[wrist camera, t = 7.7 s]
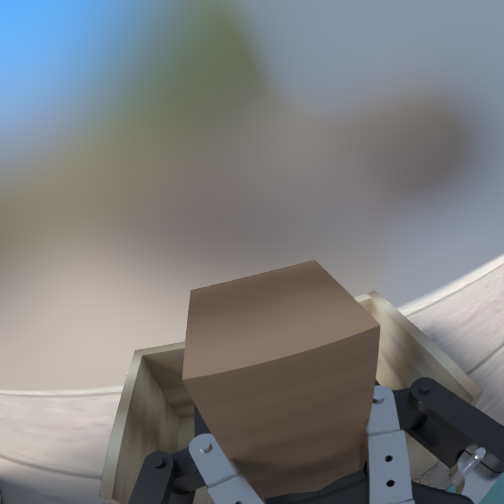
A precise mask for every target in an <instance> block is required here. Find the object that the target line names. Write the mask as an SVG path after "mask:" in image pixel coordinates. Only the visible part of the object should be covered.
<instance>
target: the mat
mask: <svg viewBox="0 0 504 504" xmlns="http://www.w3.org/2000/svg"><path fill="white" fill-rule="evenodd" d="M446 491H449V492H453V493H455V492H456V489H455V486H454V485H453V486H452V487H450V488H449V489H447V490H446ZM478 504H504V473H503V474H502V475H501V476H500V477H499V478H498V479H497V481H496V482H495V483H494V485H493V486H492V487H491V489H490V490H489V491H488V492H487V494H486V495H485V496H484V497H483V499H482V500H481V501H480V502H479V503H478Z"/></svg>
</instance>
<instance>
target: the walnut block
mask: <svg viewBox="0 0 504 504" xmlns="http://www.w3.org/2000/svg"><path fill="white" fill-rule="evenodd" d="M380 327H381V325H380V324H379V323H378V322H377V321H376V320H375V319H374V318H373V317H372V316H371V315H370V314H369V313H368V312H367V311H366V310H365V309H364V308H363V307H362V306H361V305H360V304H359V303H358V302H357V301H356V300H355V299H354V298H353V297H352V296H351V295H350V294H349V293H348V292H347V291H346V290H345V289H344V288H343V287H342V286H341V285H340V284H339V283H338V282H337V281H336V280H335V279H334V278H333V277H332V276H331V275H329V273H328V272H327V271H325V270H324V269H323V268H322V267H321V266H320V265H319V264H318V263H317V262H316V261H315V260H312V261H308V262H304V263H301V264H297V265H293V266H289V267H285V268H281V269H277V270H273V271H269V272H265V273H261V274H257V275H253V276H249V277H245V278H241V279H236V280H232V281H228V282H224V283H220V284H216V285H211V286H207V287H203V288H198V289H194V290H191V293H190V303H189V311H188V321H187V330H186V340H185V351H184V363H183V376H182V380H183V382H184V384H185V386H186V388H187V390H188V392H189V394H190V396H191V398H192V400H193V401H194V403H195V405H196V407H197V409H198V411H199V412H200V414H201V416H202V418H203V420H204V421H205V423H206V425H207V427H208V428H209V430H210V432H211V433H212V435H213V437H214V438H215V440H216V442H217V443H218V445H219V447H220V448H221V450H222V451H223V453H224V455H225V456H226V458H227V459H232V460H233V462H234V463H235V465H236V466H237V467H238V469H239V470H240V472H241V473H242V474H243V476H244V477H245V479H246V480H247V481H248V483H249V484H250V486H251V487H252V488H253V490H254V491H255V492H256V494H257V495H258V496H259V498H260V499H261V500H262V502H263V503H264V504H266V502H265V499H266V498H271V497H275V496H280V495H284V494H288V493H302V492H314V491H318V490H320V489H322V488H324V487H325V486H327V485H329V484H330V483H332V482H334V481H335V480H337V479H339V478H341V477H343V476H346V475H349V474H351V473H354V472H356V471H358V469H359V461H360V458H359V449H360V445H362V444H364V422H365V420H367V419H369V418H370V414H371V408H372V402H373V395H374V388H375V381H376V372H377V363H378V353H379V341H380Z"/></svg>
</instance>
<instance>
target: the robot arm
mask: <svg viewBox="0 0 504 504" xmlns="http://www.w3.org/2000/svg"><path fill="white" fill-rule="evenodd" d="M194 410H195V411H194V433H195V435H194V438H193V439H192V441H191V442H190V444H189V446H188V447H187V448H185V449H183V450H181V451H179V452H176V453H173V454H169V453H168V452H165V451H154V452H152V453H150V454H149V455H148V456H147V457H146V458H145V460H144V462H143V465H142V468H141V470H140V473H139V475H138V478H137V481H136V483H135V486H134V489H133V491H132V494H131V497H130V499H129V502H128V504H193V501H194V497H195V492H196V489H199V488H201V487H204V486H206V485H207V490H208V492H209V494H210V496H211V497H212V499H213V501H214V502H215V504H264V503H263V502H262V500H261V499H260V498H259V496H258V495H257V494H256V492H255V491H254V490H253V488H252V487H251V486H250V484H249V483H248V481H247V480H246V479H245V477H244V476H243V474H242V473H241V472H240V470H239V469H238V467H237V466H236V465H235V463H234V462H233V460H232V459H227V458H226V456H225V455H224V453H223V451H222V450H221V448H220V447H219V445H218V443H217V442H216V440H215V438H214V437H213V435H212V433H211V432H210V430H209V428H208V427H207V425H206V423H205V421H204V420H203V418H202V416H201V414H200V412H199V411H198V409H197V407H196V405H194ZM404 431H406V432H407V433H408V434H409V435H410V436H411V437H413V438H414V439H415V440H416V441H417V442H418V443H420V444H421V445H422V446H423V447H424V448H426V449H427V450H428V451H429V452H430V453H432V454H433V455H434V456H435V457H437V458H438V459H439V460H440V461H441V462H443V463H444V464H445V465H446V466H448V467H449V468H450V469H451V470H450V473H449V477H450V480H451V482H452V483H453V484H454V486H455V489H456V492H455V493H453V492H449V491H444V490H440V489H436V488H433V487H429V486H426V485H422V484H419V483H415V482H412V481H411V477H410V468H409V460H408V452H407V445H406V439H405V433H404ZM359 458H360V461H359V471H356V472H354V473H351V474H349V475H346V476H343V477H341V478H339V479H337V480H335V481H334V482H332V483H330V484H329V485H327V486H325V487H324V488H322V489H320V490H318V491H314V492H302V493H288V494H284V495H280V496H275V497H271V498H266V499H265V502H266V504H478V503H479V502H480V501H481V500H482V499H483V497H484V496H485V495H486V494H487V492H488V491H489V490H490V489H491V487H492V486H493V485H494V483H495V482H496V481H497V479H498V478H499V477H500V476H501V475H502V474H503V473H504V426H502V425H501V424H499V423H498V422H496V421H495V420H493V419H492V418H490V417H489V416H487V415H486V414H484V413H483V412H481V411H480V410H478V409H477V408H475V407H474V406H472V405H471V404H469V403H468V402H466V401H465V400H463V399H462V398H460V397H459V396H457V395H456V394H454V393H453V392H451V391H450V390H448V389H447V388H446V387H444V386H443V385H441V384H440V383H438V382H437V381H435V380H434V379H432V378H428V377H422V378H419V379H416V380H415V381H414V382H413V383H412V385H411V387H410V388H405V389H400V390H391V389H389V388H388V387H386V386H381V385H380V384H379V383H378V381H377V380H376V381H375V388H374V395H373V402H372V408H371V414H370V418H369V419H367V420H365V422H364V444H362V445H360V449H359ZM0 504H1V493H0Z"/></svg>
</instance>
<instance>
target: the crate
mask: <svg viewBox="0 0 504 504" xmlns="http://www.w3.org/2000/svg"><path fill="white" fill-rule="evenodd" d="M354 299H355V300H356V301H357V302H358V303H359V304H360V305H361V306H362V307H363V308H364V309H365V310H366V311H367V312H368V313H369V314H370V315H371V316H372V317H373V318H374V319H375V320H376V321H377V322H378V323H379V324H380V325H381V327H380V341H379V353H378V363H377V372H376V380H377V381H378V383H379V384H380V385H381V386H386V387H388V388H389V389H391V390H400V389H405V388H410V387H411V385H412V383H413V382H414V381H415V380H416V379H419V378H422V377H428V378H432V379H434V380H435V381H437V382H438V383H440V384H441V385H443V386H444V387H446V388H447V389H448V390H450V391H451V392H453V393H454V394H456V395H457V396H459V397H460V398H462V399H463V400H465V401H466V402H468V403H469V404H471V405H472V406H474V407H475V405H476V403H477V401H478V400H479V398H480V396H481V394H482V392H483V390H482V389H481V388H480V387H479V386H478V385H477V384H476V383H475V382H474V381H473V380H472V379H471V378H470V377H469V376H468V375H467V374H466V373H465V372H464V371H463V370H462V369H461V368H460V367H459V366H458V365H457V364H456V363H455V362H454V361H452V360H451V359H450V358H449V357H448V356H447V355H446V354H445V353H444V352H443V351H442V350H441V349H440V348H439V347H438V346H437V345H436V344H434V343H433V342H432V341H431V340H430V339H429V338H428V337H427V336H426V335H425V334H424V333H422V332H421V331H420V330H419V329H418V328H417V327H416V326H415V325H414V324H413V323H411V322H410V321H409V320H408V319H407V318H406V317H405V316H404V315H402V314H401V313H400V312H399V311H398V310H397V309H396V308H394V307H393V306H392V305H391V304H390V303H389V302H388V301H386V300H385V299H384V298H383V297H382V296H380V295H379V294H378V293H377V292H376V291H373V292H369V293H367V294H363V295H360V296H357V297H354ZM184 351H185V342H180V343H175V344H169V345H164V346H158V347H152V348H146V349H140V350H135V352H134V356H133V359H132V362H131V365H130V368H129V371H128V375H127V378H126V381H125V385H124V388H123V392H122V395H121V399H120V403H119V406H118V410H117V414H116V418H115V422H114V425H113V430H112V434H111V438H110V442H109V447H108V451H107V456H106V460H105V465H104V470H103V475H102V481H101V486H100V492H99V497H101V498H102V499H104V500H105V501H107V502H108V503H110V504H128V502H129V499H130V497H131V494H132V491H133V489H134V486H135V483H136V481H137V478H138V475H139V473H140V470H141V468H142V465H143V462H144V460H145V458H146V457H147V456H148V455H149V454H150V453H152V452H154V451H165V452H168V453H169V454H173V453H176V452H179V451H181V450H183V449H185V448H187V447H188V446H189V444H190V442H191V441H192V439H193V438H194V435H195V433H194V411H195V410H194V405H195V403H194V401H193V400H192V398H191V396H190V394H189V392H188V390H187V388H186V386H185V384H184V382H183V380H182V376H183V363H184ZM404 433H405V439H406V445H407V452H408V460H409V468H410V477H411V479H413V478H415V477H417V476H418V475H420V474H422V473H424V472H425V471H427V470H428V469H430V468H432V467H433V466H435V465H436V464H438V463H439V461H440V460H439V459H438V458H437V457H435V456H434V455H433V454H432V453H430V452H429V451H428V450H427V449H426V448H424V447H423V446H422V445H421V444H420V443H418V442H417V441H416V440H415V439H414V438H413V437H411V436H410V435H409V434H408V433H407V432H406V431H404ZM358 471H359V469H358ZM193 504H215V502H214V501H213V499H212V497H211V496H210V494H209V492H208V490H207V485H206V486H204V487H201V488H199V489H196V492H195V497H194V501H193Z"/></svg>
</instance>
